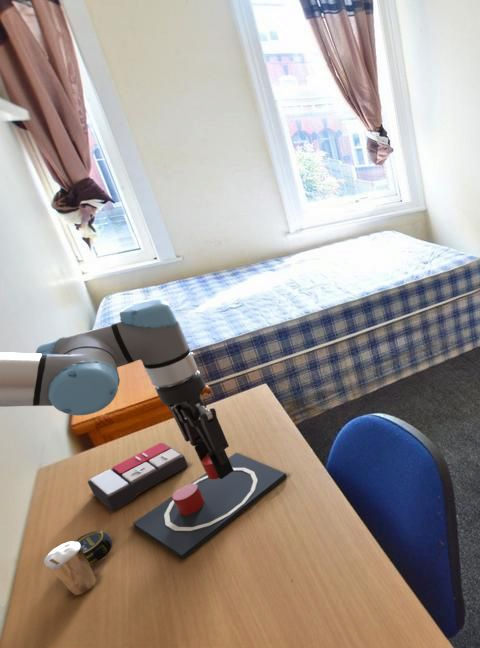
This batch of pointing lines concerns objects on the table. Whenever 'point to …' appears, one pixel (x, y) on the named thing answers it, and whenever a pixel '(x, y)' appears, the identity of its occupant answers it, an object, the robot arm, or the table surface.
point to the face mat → (210, 506)
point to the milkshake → (71, 567)
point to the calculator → (136, 475)
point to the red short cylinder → (209, 468)
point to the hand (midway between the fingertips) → (219, 470)
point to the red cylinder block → (188, 499)
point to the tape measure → (95, 545)
